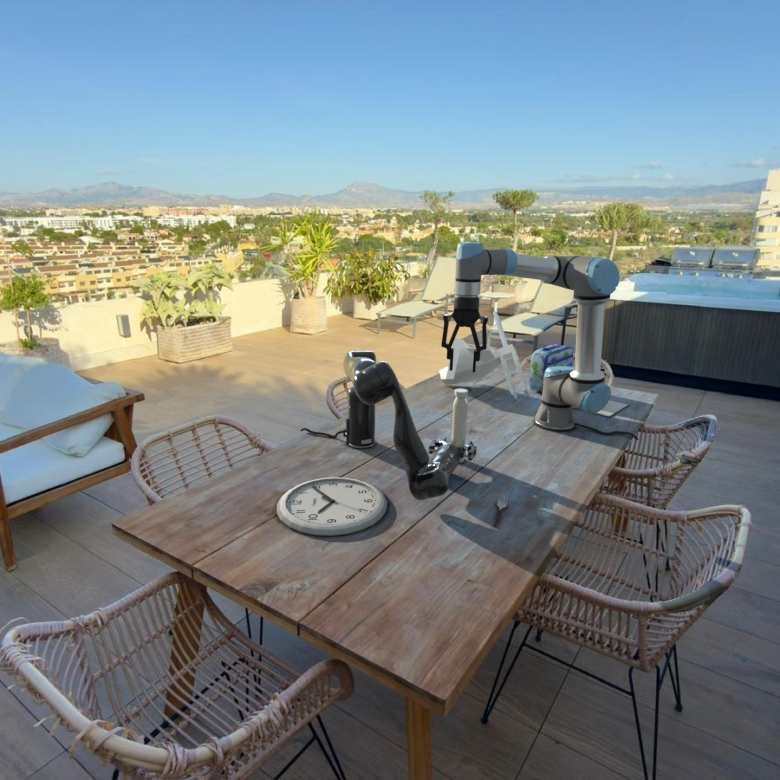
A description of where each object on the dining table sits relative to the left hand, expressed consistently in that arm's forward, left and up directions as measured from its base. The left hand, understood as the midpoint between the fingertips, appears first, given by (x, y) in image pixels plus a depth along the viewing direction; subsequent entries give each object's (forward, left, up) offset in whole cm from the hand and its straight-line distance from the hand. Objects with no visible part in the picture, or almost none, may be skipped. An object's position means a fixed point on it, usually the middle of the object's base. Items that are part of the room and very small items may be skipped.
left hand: (458, 441), depth 170 cm
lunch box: (+22, +96, -7) cm, 98 cm away
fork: (+19, -29, -7) cm, 35 cm away
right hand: (0, 0, +24) cm, 24 cm away
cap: (0, 0, +17) cm, 17 cm away
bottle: (0, 0, -7) cm, 7 cm away
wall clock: (-25, -42, -7) cm, 49 cm away
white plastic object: (-8, +77, -7) cm, 77 cm away
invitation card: (+45, +78, -7) cm, 90 cm away
